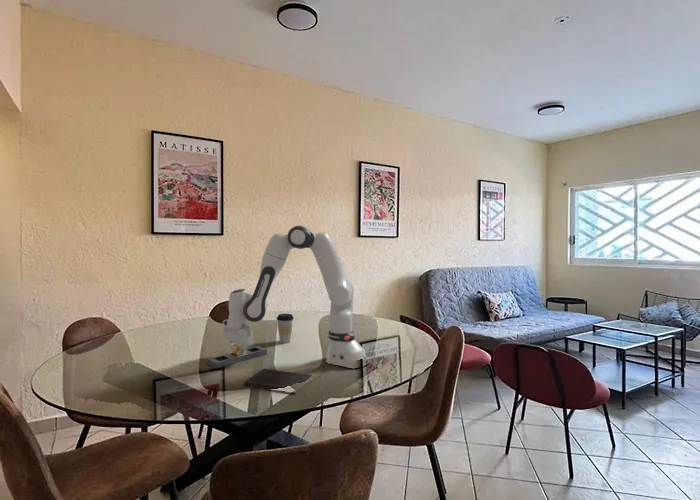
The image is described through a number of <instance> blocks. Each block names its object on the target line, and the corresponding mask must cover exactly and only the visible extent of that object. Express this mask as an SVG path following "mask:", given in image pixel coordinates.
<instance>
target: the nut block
mask: <svg viewBox="0 0 700 500" xmlns="http://www.w3.org/2000/svg"><path fill="white" fill-rule="evenodd" d="M242 349H243V345H242V344H239V343H236V344H235V343H234V345H232V349H231V350H232V351H231V352H232V355H234V356H239V355H243V353H242Z"/></svg>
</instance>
